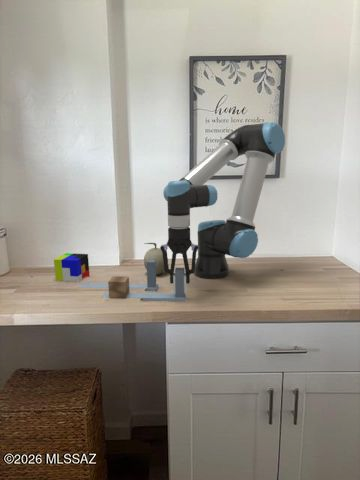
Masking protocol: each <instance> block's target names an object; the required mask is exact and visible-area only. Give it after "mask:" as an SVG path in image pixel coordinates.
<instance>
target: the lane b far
mask: <svg viewBox="0 0 360 480" xmlns="http://www.w3.org/2000/svg"><path fill="white" fill-rule="evenodd" d="M78 288H85V289H86V288H87V289H88V288H89V289H92V288H94V289H109V288H108V282H105V283H104V282H103V283H101V282H99V283H98V282H83V283H81V284H80V286H79V287H78Z"/></svg>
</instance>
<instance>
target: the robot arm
mask: <svg viewBox="0 0 360 480" xmlns="http://www.w3.org/2000/svg"><path fill="white" fill-rule="evenodd" d="M285 145H286V137H285V133H284V130H283V128H282V126H281V125H280V124H279V123H277V122H269V121H268V122H267V121H266V122H264V123H263V122H262V123H253V124H245V125H242V126H240V127H238V128H236V129H234V130H233V131H232V132H230V133H229V134H227V135H226V136H224V138H223V139H222V140H220V142H219V143H218V146H217V147H216V148H215V149H214V150H212V151H211V152H210V153H209V154H208V155H207V156H206V157H204V158H203V159H202V160H201V161H199V163H197V164H196V165H195V166H193V168H192V169H191V170H189V171H188V172H187V173H185V174H184V176H182V177H181V178H180V179H179V180H171V181H169V182H168V183H167V185H166V186H165V187H164V189H163V197H164V199H165V201H167V202H166V203H167V226H168V228H167V232H168V233H167V234H168V236H167V237H168V239H167V242H166V243H164V244H161V245H160V247H159V248H160V249H161V251H162V253H163V262H164V270H165V271H164V273H165V274H169V283H170V284H173V287H172V289H173V290H172V291H173V292H172V293H176V290H175V269H176V259H177V255H178V254H180V255H182V260H183V264H184V293H186V294H187V292H188V291H187V289H188V288H187V287H188V286H187V285H188V284H189V285H190V280H191V279H190V276H191V275H192V274H194V275H195V276H197V277H198V278H202V279H208V280H209V279H211V280H213V279H222V278H225V277H228V276H229V275H230V268H229V264H228V260H227V259H226V255H227V256H231V257H234V258H239V259H245V258H246V259H247V258H249V257H250V256H251V255H252V254H253V253H254V252H255V250H256V249H257V246H258V243H259V238H258V237H259V236H258V235H259V234H258V233H257V232H256V231H255V230H256V225H255V223H254V219H255V215H256V211H257V207H258V204H259V200H260V196H261V193H262V190H263V186H264V182H265V178H266V175H267V171H268V167H269V164H270V163H271V164H272V162H274V160H275V158H276V157H275V156H276V154H280V153H281V152H282V151H283V150H284V147H285ZM240 156H245V157H246V162H245V167H244V169H243V174H242V177H241V182H240V185H239V188H238V192H237V195H236V199H235V203H234V207H233V210H232V213H231V216H230V217H229V218H226V220H224V219H218V220H217V219H216V220H215V219H214V220H206V221H205V220H204V221H201V222H199V224H198V225H197V244H194V243H193V242H192V240H191V228H190V226H191V209H194V208H204V207H206V208H207V207H210V206H213V205H215V204H216V203H217V201H218V197H219V196H218V190H217V189H216V187H215V186H214V185H211V184H206V183H207V182H208V181H209V180H210V179H211V178H213V177H214V176H215V175H216V173H218V172H219V171H221V170H222V169H223V168H224V167H225V166H226V165H228V163H229V162H230V161H234V160H236V159H238V157H240ZM190 247H191V251H192V255H191V268H190V265H189V259H188V253H187V252H188V250H189V249H190ZM168 249H170V251H171V253H172V254H171V263H170V267H169V258H168V251H167V250H168Z"/></svg>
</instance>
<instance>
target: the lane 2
mask: <svg viewBox="0 0 360 480" xmlns="http://www.w3.org/2000/svg"><path fill="white" fill-rule="evenodd" d="M174 273H175V290H176V293H173V292H129V294H128V295H127V297H126V298H125V299H139V301H141V302H143V301H145V302H146V301H147V302H149V301H150V302H186V300H187V292H186V293H184V273H185V267H175V268H174ZM101 298H109V291H105V292H104V293H103V295H101ZM109 299H110V298H109Z"/></svg>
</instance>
